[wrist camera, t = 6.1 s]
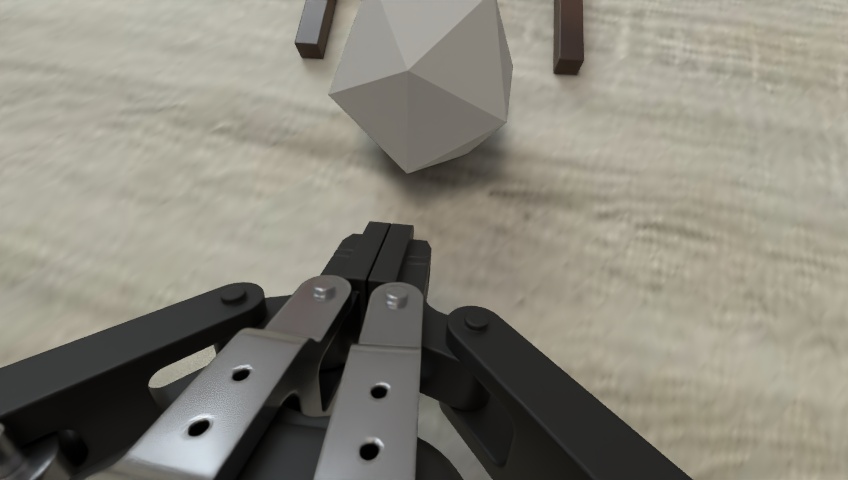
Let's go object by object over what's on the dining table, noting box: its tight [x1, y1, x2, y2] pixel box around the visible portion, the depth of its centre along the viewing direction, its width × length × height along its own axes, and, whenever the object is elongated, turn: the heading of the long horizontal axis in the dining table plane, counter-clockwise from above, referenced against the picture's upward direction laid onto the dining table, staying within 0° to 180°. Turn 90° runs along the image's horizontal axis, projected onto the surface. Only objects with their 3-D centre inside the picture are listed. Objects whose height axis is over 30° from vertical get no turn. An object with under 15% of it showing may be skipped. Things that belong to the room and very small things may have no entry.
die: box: [328, 0, 513, 174], centre depth 19 cm, size 8×9×10 cm
